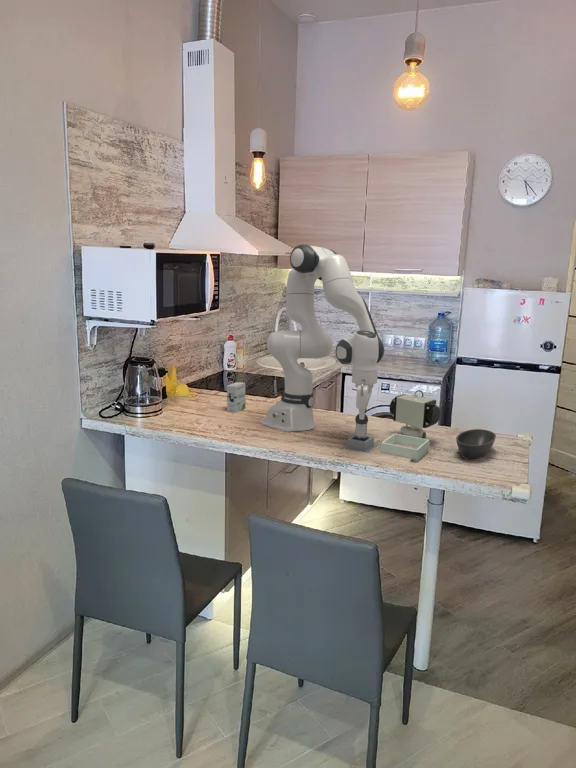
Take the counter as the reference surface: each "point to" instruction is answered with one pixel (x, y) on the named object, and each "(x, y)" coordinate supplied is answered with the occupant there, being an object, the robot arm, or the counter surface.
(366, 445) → the socket block
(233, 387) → the ink box
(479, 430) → the bowl
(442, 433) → the counter surface
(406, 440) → the bin
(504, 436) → the counter surface
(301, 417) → the robot arm
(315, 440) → the counter surface
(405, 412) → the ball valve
